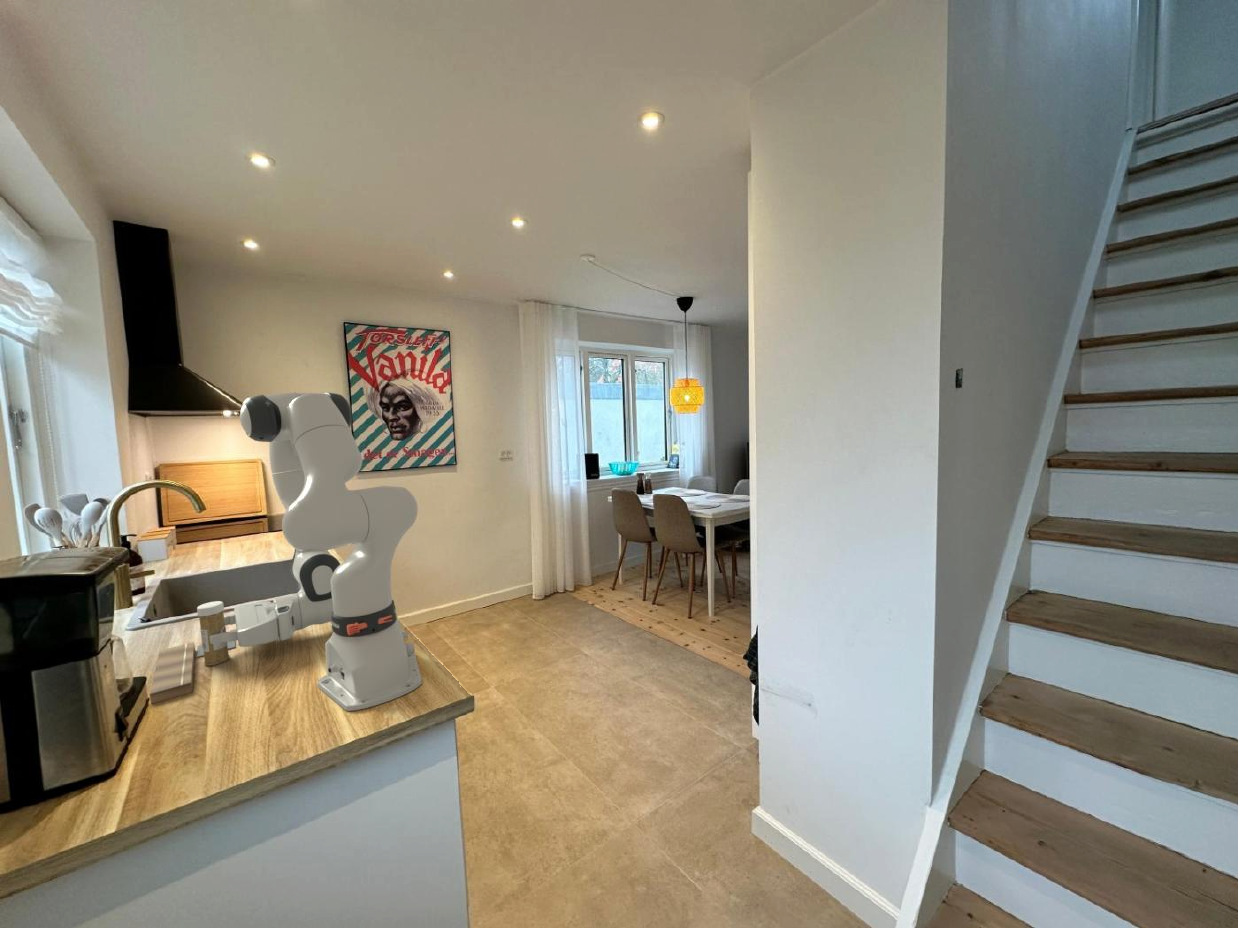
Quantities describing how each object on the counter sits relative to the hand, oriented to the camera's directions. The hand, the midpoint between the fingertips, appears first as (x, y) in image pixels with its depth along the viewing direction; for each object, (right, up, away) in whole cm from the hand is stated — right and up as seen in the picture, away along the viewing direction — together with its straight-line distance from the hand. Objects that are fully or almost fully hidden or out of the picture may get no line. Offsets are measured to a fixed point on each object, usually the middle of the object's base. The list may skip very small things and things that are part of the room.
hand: (210, 632), depth 110 cm
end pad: (-5, -6, +8) cm, 11 cm away
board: (-4, -8, -4) cm, 10 cm away
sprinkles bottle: (+1, -7, +1) cm, 7 cm away
